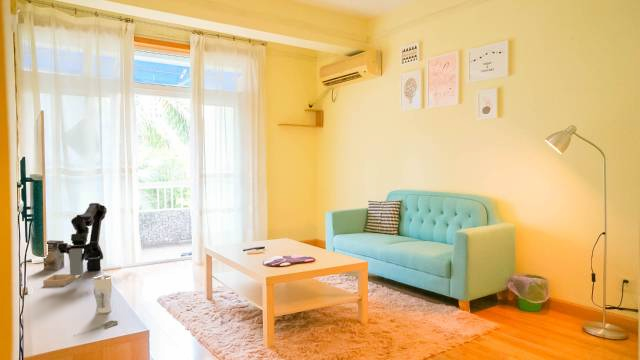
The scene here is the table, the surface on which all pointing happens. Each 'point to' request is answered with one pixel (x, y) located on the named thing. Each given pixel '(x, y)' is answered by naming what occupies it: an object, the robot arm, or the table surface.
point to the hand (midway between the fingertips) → (76, 261)
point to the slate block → (76, 261)
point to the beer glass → (102, 294)
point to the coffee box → (54, 256)
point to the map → (108, 324)
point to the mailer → (59, 280)
